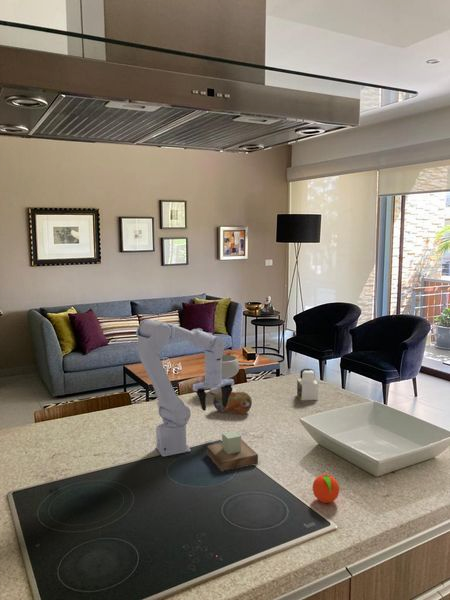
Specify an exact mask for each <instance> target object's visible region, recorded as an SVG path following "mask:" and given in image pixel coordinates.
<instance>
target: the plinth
mask: <svg viewBox="0 0 450 600" xmlns="http://www.w3.org/2000/svg"><path fill="white" fill-rule="evenodd" d="M206 454H207V455H206V456H208V458H209V457H210V458H211V459H212V460H211V459H210V458H209V459H210V460H211V462H213V463H214V465H215V464H216V465H217V466H216V465H215V466H216V467H217V468H218V469H219V471H220V470H221V471H222V472H225V471H224V470H227V471H229V470H228V469H232V468H236V469H238V468H237V467H241V466H246V465H250V466H253V465H252V464H255V465H258V463H259V453H257V452H256V451H255V450H254V449H253V448H252V447H250V446H249V445H248V444H247V443H246V442H245V441H244V440H243V439H242V438H241V452H236V453H232V454H227V453H226V452H225V451H224V450H223V449H222V442H220V443H219V442H218V443H215V444H208V445H207V446H206ZM246 467H247V466H246ZM241 468H242V467H241ZM232 470H233V469H232ZM221 471H220V472H221Z"/></svg>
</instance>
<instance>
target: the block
mask: <svg viewBox="0 0 450 600" xmlns="http://www.w3.org/2000/svg"><path fill="white" fill-rule="evenodd" d="M221 435H222V436H221V443H222V449H223V450H224V451H225V452H226V453H227V454H232V453H236V452H241V439H242V436H241V434H239V433H238V432H237V431H236V430H232V431H226V432H222V433H221Z"/></svg>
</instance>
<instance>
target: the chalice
mask: <svg viewBox="0 0 450 600" xmlns="http://www.w3.org/2000/svg"><path fill="white" fill-rule="evenodd" d="M239 370H240V363H239V359H238V358H237V357H236V356H235V355H232V354H223V356H222V379H232V377H235V376H236V375H237V374H238V372H239ZM231 387H232V391H238V389H237V388H236V386H235V387H234V386H231ZM219 392H221V387H218V388H210V389H209V393H210V394H213V395H216V394H217V393H219Z"/></svg>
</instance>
